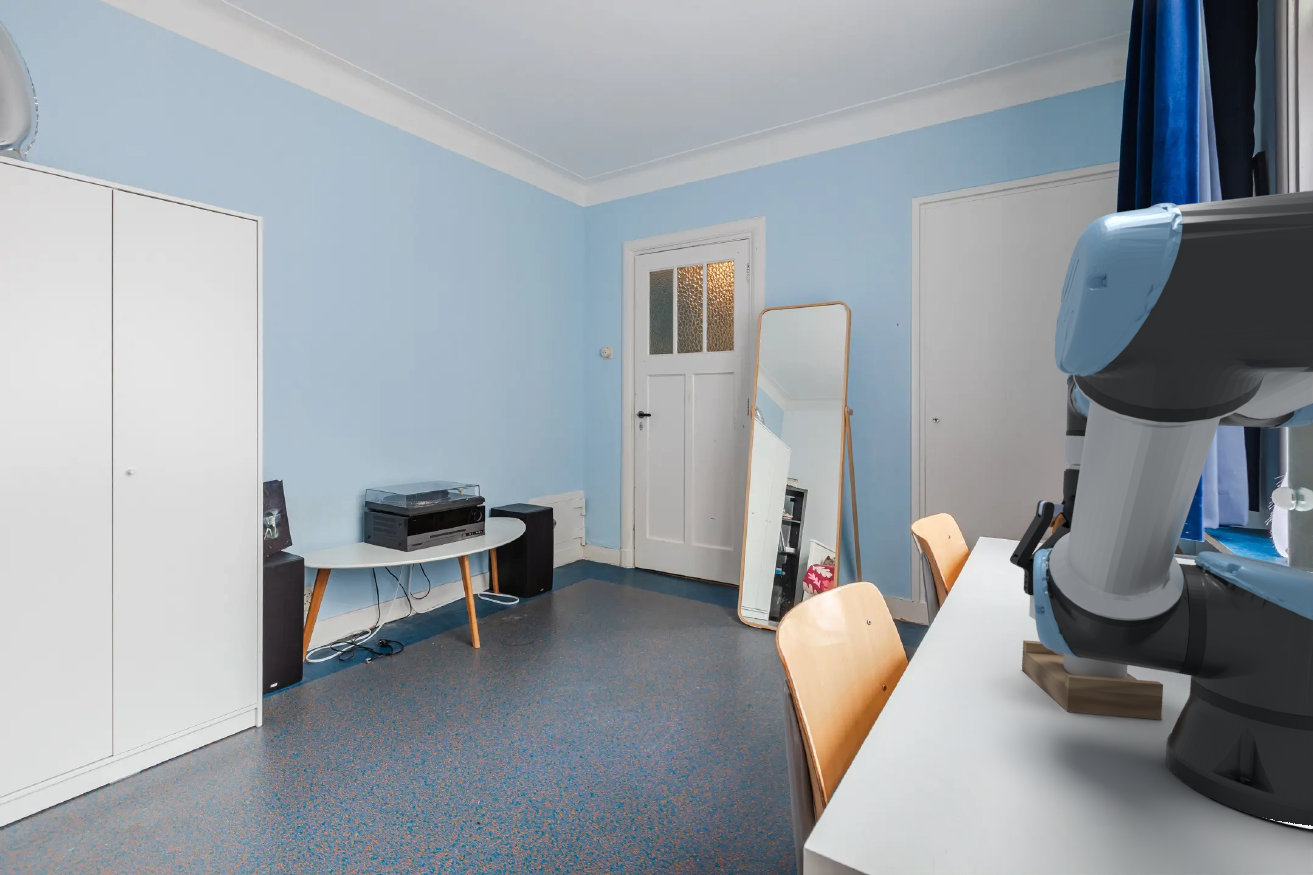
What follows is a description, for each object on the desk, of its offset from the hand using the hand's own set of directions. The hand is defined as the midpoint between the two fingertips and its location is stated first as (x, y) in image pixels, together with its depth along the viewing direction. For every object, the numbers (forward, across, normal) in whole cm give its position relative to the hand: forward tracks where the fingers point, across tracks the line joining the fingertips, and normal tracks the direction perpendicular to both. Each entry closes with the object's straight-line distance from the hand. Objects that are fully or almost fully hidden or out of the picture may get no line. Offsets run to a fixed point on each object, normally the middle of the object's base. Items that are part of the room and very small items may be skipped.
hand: (1089, 623), depth 88 cm
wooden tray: (+10, 0, -1) cm, 10 cm away
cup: (+7, 0, -1) cm, 7 cm away
